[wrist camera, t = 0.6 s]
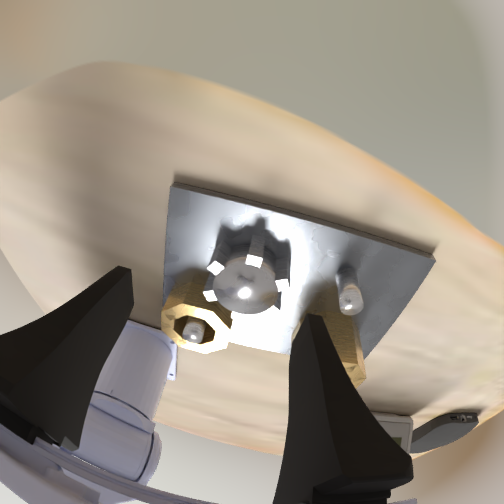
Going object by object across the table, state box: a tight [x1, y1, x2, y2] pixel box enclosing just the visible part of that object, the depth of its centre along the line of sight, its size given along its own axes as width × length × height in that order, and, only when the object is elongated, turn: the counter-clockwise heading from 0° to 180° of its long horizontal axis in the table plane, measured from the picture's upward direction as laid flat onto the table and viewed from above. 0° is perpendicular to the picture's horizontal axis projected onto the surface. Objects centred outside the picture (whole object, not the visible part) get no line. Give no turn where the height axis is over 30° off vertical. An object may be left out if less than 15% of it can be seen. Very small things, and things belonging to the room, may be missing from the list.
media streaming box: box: [410, 413, 479, 453], centre depth 40 cm, size 15×15×3 cm
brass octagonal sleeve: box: [291, 310, 366, 388], centre depth 23 cm, size 6×6×5 cm
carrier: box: [161, 182, 436, 359], centre depth 22 cm, size 14×20×4 cm
